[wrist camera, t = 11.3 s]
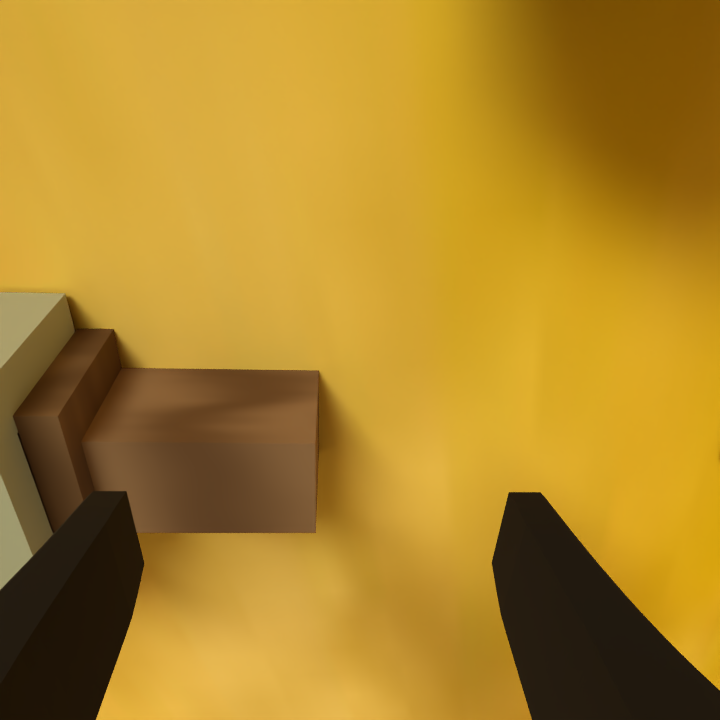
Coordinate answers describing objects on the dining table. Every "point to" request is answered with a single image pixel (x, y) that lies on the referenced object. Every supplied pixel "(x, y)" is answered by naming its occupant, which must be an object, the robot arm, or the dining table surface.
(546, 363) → the dining table surface
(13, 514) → the block
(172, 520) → the brown collared bar
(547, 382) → the dining table surface
